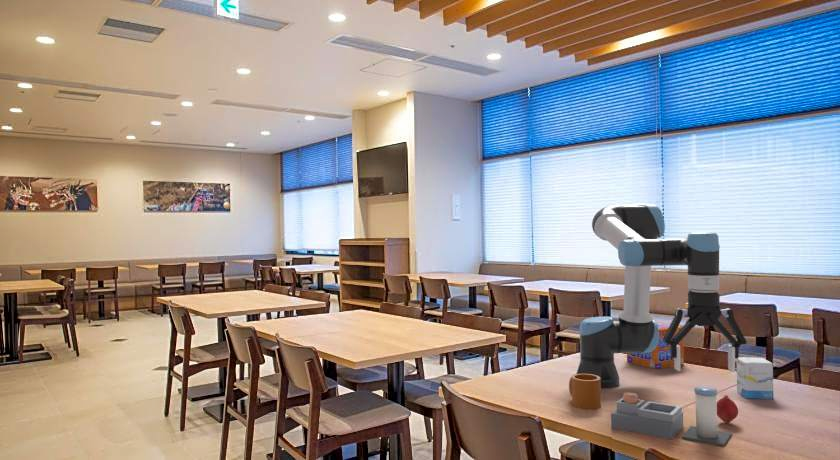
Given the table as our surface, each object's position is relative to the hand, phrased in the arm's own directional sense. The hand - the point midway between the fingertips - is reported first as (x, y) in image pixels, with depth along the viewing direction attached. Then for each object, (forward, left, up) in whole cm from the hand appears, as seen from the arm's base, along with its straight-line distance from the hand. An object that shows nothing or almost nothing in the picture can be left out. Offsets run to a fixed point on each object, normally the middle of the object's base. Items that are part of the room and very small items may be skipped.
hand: (704, 370), depth 154 cm
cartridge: (0, 0, -17) cm, 17 cm away
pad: (0, 0, -18) cm, 18 cm away
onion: (+2, +15, -18) cm, 23 cm away
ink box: (+4, +50, -18) cm, 53 cm away
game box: (-36, +79, -18) cm, 88 cm away
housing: (-15, -1, -18) cm, 23 cm away
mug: (-38, +10, -18) cm, 43 cm away
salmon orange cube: (-19, -1, -13) cm, 23 cm away
